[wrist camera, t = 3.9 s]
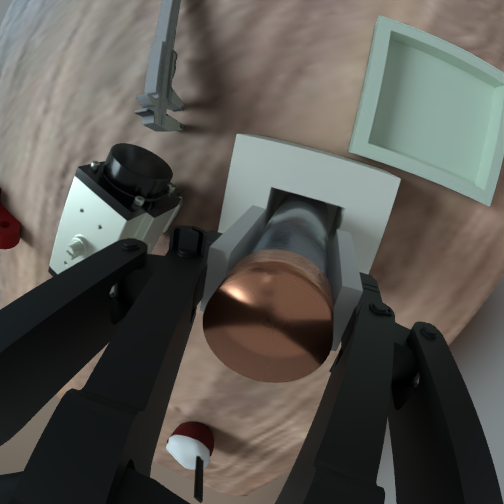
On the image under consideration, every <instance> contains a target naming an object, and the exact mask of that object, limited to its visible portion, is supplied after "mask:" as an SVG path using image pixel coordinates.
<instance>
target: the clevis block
mask: <svg viewBox="0 0 504 504" xmlns="http://www.w3.org/2000/svg"><path fill="white" fill-rule="evenodd" d="M400 180H401V179H400V178H399V177H397V176H395V175H393V174H391V173H389V172H387V171H385V170H383V169H381V168H378V167H375V166H372V165H369V164H366V163H363V162H359V161H356V160H353V159H350V158H346V157H343V156H340V155H336V154H333V153H329V152H326V151H322V150H319V149H315V148H311V147H307V146H303V145H300V144H296V143H292V142H287V141H283V140H279V139H275V138H270V137H266V136H261V135H253V134H237V136H236V140H235V145H234V150H233V155H232V160H231V165H230V170H229V175H228V180H227V186H226V191H225V196H224V201H223V207H222V212H221V218H220V223H219V229H218V232H219V233H224V232H225V231H226V230H227V229H228V228H229V227H230V226H232V225H233V224H234V223H235V222H236V221H237V220H238V219H239V218H240V217H241V216H242V215H243V214H244V213H245V212H246V211H247V210H248V209H249V208H250V207H251V206H252V205H254V206H258V207H261V208H265V209H266V212H265V216H264V221H263V225H262V229H261V233H262V231H263V230H264V228H265V227H266V225H267V224H268V222H269V221H270V219H271V218H272V216H273V214H274V213H275V211H276V210H277V208H278V207H279V205H280V204H281V202H282V201H283V199H284V198H285V197H286V196H287V195H288V194H289V193H290V192H291V193H295V194H299V195H302V196H306V197H310V198H313V199H317V200H320V201H324V202H325V203H326V206H327V210H328V256H329V253H330V250H331V247H332V243H333V240H334V237H335V234H336V231H337V229H339V230H343V231H346V232H349V233H351V237H352V242H353V246H354V250H355V255H356V259H357V264H358V269H359V272H361V273H365V274H369V271H370V269H371V266H372V264H373V261H374V258H375V256H376V253H377V250H378V248H379V245H380V242H381V239H382V236H383V234H384V231H385V228H386V225H387V222H388V219H389V216H390V213H391V210H392V207H393V204H394V200H395V197H396V194H397V191H398V187H399V184H400Z"/></svg>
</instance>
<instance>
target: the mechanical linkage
mask: <svg viewBox="0 0 504 504" xmlns="http://www.w3.org/2000/svg"><path fill="white" fill-rule="evenodd" d="M0 194H1V188H0ZM20 226H21V224H20V222H19V221H18V220H17V219H16V218H15V217H14V216H13V215H12V214H11V213H10V212H9V211H8V210H7V209H6V208H5V207H4V206H3V205H2V204H1V203H0V249H10V248H13V247H15V246H16V245H17V244H18V243H19V240H20Z"/></svg>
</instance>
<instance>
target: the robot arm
mask: <svg viewBox="0 0 504 504" xmlns="http://www.w3.org/2000/svg"><path fill="white" fill-rule="evenodd" d="M265 212H266V209H265V208H261V207H258V206H254V205H252V206H251V207H250V208H249V209H248V210H247V211H246V212H245V213H244V214H243V215H242V216H241V217H240V218H239V219H238V220H237V221H236V222H235V223H234V224H233V225H232V226H230V227H229V228H228V229H227V230H226V231H225V232H224V233H219V232H216V231H209V232H205V231H204V230H202V229H200V228H197V227H193V226H186V225H185V226H176V227H173V228H172V229H171V234H170V243H169V250H168V252H167V253H166V255H165V256H161V255H153V254H147V251H148V245H147V244H146V243H145V242H143V241H141V240H137V239H135V238H132V239H131V238H127V239H121V240H119V241H116V242H114V243H112V244H111V245H109V246H107V247H105V248H103V249H101V250H100V251H98V252H96V253H94V254H92V255H91V256H89V257H87V258H85V259H83V260H82V261H80V262H78V263H76V264H75V265H73V266H71V267H69V268H68V269H66V270H64V271H62V272H61V273H59V274H57V275H56V276H54V277H52V278H51V279H49V280H47V281H46V282H44V283H42V284H41V285H39V286H37V287H36V288H34V289H32V290H31V291H29V292H28V293H26V294H24V295H23V296H21V297H20V298H18V299H16V300H15V301H13V302H12V303H10V304H9V305H7V306H6V307H4V308H3V309H1V310H0V446H1V445H3V444H4V443H5V442H7V441H8V440H10V439H11V438H12V437H13V436H14V435H15V434H16V433H17V432H18V431H20V429H22V428H23V427H24V426H25V425H26V424H27V422H28V421H30V420H31V418H32V417H33V416H34V415H35V414H36V413H37V412H38V411H39V410H40V409H41V408H42V407H43V406H44V405H45V404H46V403H47V402H48V401H49V400H50V399H51V398H52V397H53V396H54V395H55V394H56V393H57V392H58V391H59V390H60V389H61V388H62V387H63V386H64V385H65V384H67V383H68V382H69V381H70V380H71V379H72V378H73V377H74V376H75V375H76V374H77V373H78V372H79V371H80V370H81V369H82V368H83V367H84V366H85V365H86V364H87V363H88V362H89V361H90V360H91V359H92V358H93V357H94V356H95V355H96V354H97V353H99V352H100V351H101V350H102V349H103V348H104V347H105V346H106V345H107V344H108V343H109V344H108V346H107V347H106V349H105V351H104V353H103V354H102V356H101V358H100V359H99V361H98V363H97V365H96V366H95V368H94V370H93V372H92V373H91V375H90V377H89V379H88V381H87V382H86V384H85V386H84V387H83V388H82V389H81V390H76V389H73V388H72V389H70V390H68V391H67V392H66V393H65V395H64V396H63V397H62V399H61V401H60V402H59V404H58V406H57V407H56V409H55V411H54V413H53V415H52V417H51V418H50V420H49V422H48V424H47V426H46V427H45V429H44V431H43V433H42V435H41V437H40V439H39V441H38V443H37V445H36V447H35V449H34V451H33V453H32V455H31V457H30V459H29V461H28V463H27V465H26V467H25V469H24V471H22V472H16V473H10V474H4V475H0V504H190V503H188V502H187V501H185V500H183V499H182V498H181V497H179V496H177V495H176V494H174V493H173V492H171V491H170V490H169V489H167V488H166V487H164V486H163V485H161V484H160V483H159V482H157V481H156V480H154V479H152V478H150V471H151V464H152V460H153V456H154V453H155V449H156V445H157V442H158V438H159V435H160V431H161V427H162V424H163V420H164V417H165V414H166V410H167V407H168V403H169V400H170V396H171V393H172V390H173V386H174V383H175V380H176V376H177V373H178V370H179V367H180V363H181V360H182V357H183V354H184V350H185V347H186V344H187V341H188V338H189V334H190V331H191V328H192V325H193V322H194V319H195V316H196V309H197V305H198V303H199V302H200V301H201V307H200V311H203V312H204V310H205V307H206V305H207V303H208V301H209V299H210V298H211V296H212V295H213V293H214V292H215V291H216V289H217V288H218V286H219V285H220V284H221V282H222V281H223V279H224V278H225V276H226V275H227V274H228V272H229V271H230V269H231V268H232V267H233V266H234V265H235V264H236V263H237V262H238V261H239V260H240V259H242V258H244V257H245V256H247V254H248V252H249V251H250V249H251V248H252V246H253V245H254V243H255V242H256V240H257V239H258V237H259V236H260V234H261V229H262V225H263V221H264V216H265ZM328 281H329V284H330V286H331V289H332V292H333V299H334V324H333V344H332V348H331V350H334V351H336V350H337V348H338V346H339V344H340V342H341V349H340V351H339V353H338V355H337V357H336V359H335V361H334V363H333V365H332V367H331V369H330V372H331V375H330V377H329V380H328V383H327V386H326V389H325V391H324V394H323V397H322V399H321V402H320V405H319V407H318V410H317V412H316V415H315V417H314V420H313V422H312V425H311V427H310V429H309V432H308V434H307V437H306V439H305V441H304V444H303V446H302V448H301V450H300V453H299V455H298V457H297V459H296V462H295V464H294V466H293V468H292V470H291V472H290V474H289V477H288V479H287V481H286V483H285V485H284V487H283V489H282V491H281V493H280V495H279V497H278V499H277V501H276V503H275V504H384V500H385V491H384V488H382V487H379V486H377V484H376V480H377V474H378V469H379V464H380V459H381V454H382V449H383V443H384V436H385V430H386V424H387V417H388V421H389V429H390V436H391V445H392V453H393V463H394V474H395V486H396V502H397V504H503V500H502V496H501V492H500V487H499V483H498V479H497V475H496V471H495V468H494V464H493V460H492V457H491V454H490V450H489V447H488V444H487V441H486V438H485V435H484V432H483V429H482V426H481V424H480V421H479V418H478V416H477V412H476V410H475V407H474V405H473V402H472V400H471V397H470V395H469V392H468V390H467V387H466V385H465V382H464V380H463V378H462V375H461V373H460V371H459V369H458V366H457V365H456V362H455V360H454V358H453V356H452V354H451V351H450V349H449V347H448V345H447V343H446V341H445V339H444V337H443V335H442V334H441V332H440V331H439V330H438V329H437V328H436V327H435V326H432V324H430V323H425V322H416V323H415V324H414V325H413V327H412V329H411V330H410V329H408V328H406V327H403V326H401V325H399V324H398V323H396V322H395V314H394V312H393V310H392V309H391V308H390V307H389V306H387V305H386V304H384V303H383V302H382V298H381V295H380V291H379V289H378V285H377V282H376V280H375V279H374V278H373V277H372V276H371V275H368V274H365V273H361V272H359V269H358V264H357V259H356V255H355V250H354V246H353V242H352V237H351V233H349V232H346V231H343V230H339V229H337V231H336V234H335V237H334V240H333V243H332V247H331V250H330V253H329V256H328ZM113 286H114V292H113V293H111V294H110V292H111V289H112V287H113ZM201 299H202V300H201ZM418 379H419V383H418V384H417V380H418Z"/></svg>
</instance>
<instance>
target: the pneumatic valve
mask: <svg viewBox="0 0 504 504" xmlns="http://www.w3.org/2000/svg"><path fill="white" fill-rule="evenodd" d="M172 177H173V172H172V170H171V168H170V166H169V165H168V164H167V163H166V162H165V161H164V160H163V159H161V158H160V157H159V156H157V155H156V154H154V153H152V152H150V151H148V150H146V149H144V148H142V147H139V146H136V145H132V144H126V143H120V144H116V145H114V146H113V147H112V148H111V150H110V152H109V154H108V157H107V159H106V161H104V162H98V161H93V162H92V164H89V165H84V166H79V167H78V169H77V172H76V174H75V177H74V180H73V183H72V186H71V189H70V192H69V195H68V198H67V201H66V204H65V207H64V211H63V214H62V218H61V221H60V225H59V228H58V232H57V236H56V240H55V244H54V248H53V252H52V256H51V261H50V266H49V270H48V272H49V273H50V274H51V275H52V276H53V277H54V276H56V275H57V274H59V273H61V272H62V271H64V270H66V269H68V268H69V267H71V266H73V265H75V264H76V263H78V262H80V261H82V260H83V259H85V258H87V257H89V256H91V255H92V254H94V253H96V252H98V251H100V250H101V249H103V248H105V247H107V246H109V245H111V244H112V243H114V242H116V241H119V240H121V239H127V238H131V239H132V238H135V239H137V240H141V241H143V242H145V243H146V244H147V245H148V251H147V254H151V252H152V250H153V248H154V246H155V245H156V243H157V241H158V239H159V237H160V236H161V234H162V233H164V232H167V230H168V228H169V227H170V225H171V223H172V222H173V220H174V218H175V216H176V215H177V213H178V211H179V210H180V208H181V206H182V205H183V203H182V200H183V199H182V197H181V196H179V195H180V193H181V190H180V189H178V188H177V187H176V186H174V185H173V184H172V183H170V181H171V179H172ZM113 292H114V286H113V287H112V289H111V292H110V294H111V293H113Z"/></svg>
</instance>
